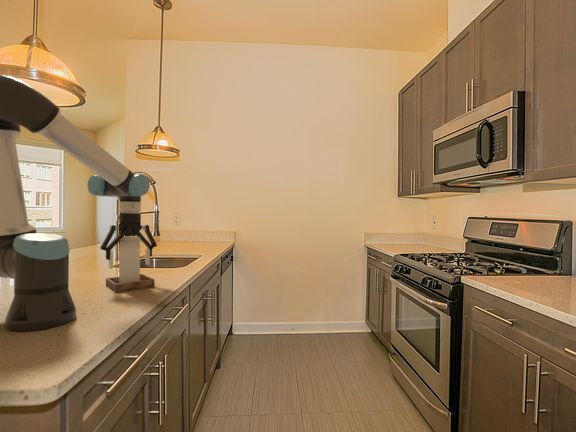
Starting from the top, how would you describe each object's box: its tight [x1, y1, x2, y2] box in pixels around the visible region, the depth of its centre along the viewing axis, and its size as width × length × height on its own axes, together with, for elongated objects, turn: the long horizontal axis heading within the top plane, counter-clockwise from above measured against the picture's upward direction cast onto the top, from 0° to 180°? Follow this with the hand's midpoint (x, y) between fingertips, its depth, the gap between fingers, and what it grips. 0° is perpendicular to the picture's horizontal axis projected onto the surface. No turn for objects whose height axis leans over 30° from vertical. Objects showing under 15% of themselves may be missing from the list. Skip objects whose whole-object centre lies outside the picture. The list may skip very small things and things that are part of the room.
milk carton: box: [118, 236, 141, 284], centre depth 126 cm, size 7×7×19 cm
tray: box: [105, 273, 156, 293], centre depth 126 cm, size 14×14×3 cm
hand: (129, 266), depth 126 cm, fingers open, 13 cm apart
